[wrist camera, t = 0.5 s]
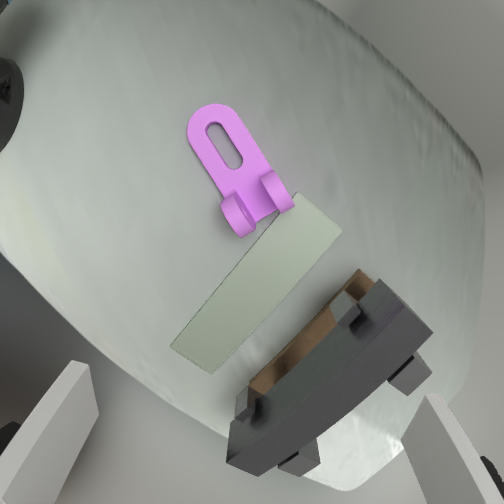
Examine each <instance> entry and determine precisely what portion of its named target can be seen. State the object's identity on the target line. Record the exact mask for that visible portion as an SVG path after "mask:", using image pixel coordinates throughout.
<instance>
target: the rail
mask: <svg viewBox="0 0 504 504" xmlns="http://www.w3.org/2000/svg"><path fill="white" fill-rule="evenodd" d="M356 305H357V306H358V308H359V309H360V311H361V313H360V314H359V315H358V316H357V317H356V318H355V319H354V320H353V321H352V322H351V323H350V324H349V325H348V326H347V327H346V329H344V328H343V327H341V326H340V325H339V324H337V325H336V326H335V327H334V328H333V329H332V330H331V331H330V332H329V333H328V334H327V335H326V336H325V337H324V338H323V339H322V340H321V341H320V342H319V343H318V344H317V345H316V346H315V347H314V348H313V349H312V350H311V351H310V352H309V353H308V354H307V355H306V356H305V357H304V358H303V359H302V360H301V361H300V362H299V363H298V364H296V365H295V366H294V367H293V368H292V369H291V370H290V371H289V372H288V373H287V374H286V375H285V376H284V377H283V378H281V379H280V380H279V381H278V382H277V383H276V384H275V385H274V386H273V387H271V388H270V389H269V390H268V391H267V392H266V393H265V394H264V395H262V396H261V397H260V398H259V399H258V400H257V401H256V402H255V413H253V414H252V415H251V416H250V417H249V418H247V419H246V420H245V421H244V422H240V421H239V420H237V419H234V420H233V421H232V422H231V423H230V431H229V440H228V449H227V458H226V463H228V464H230V465H232V466H234V467H237V468H239V469H241V470H243V471H245V472H248V473H250V474H253V475H255V476H257V477H258V476H260V475H261V474H263V473H265V472H266V471H268V470H269V469H271V468H273V467H274V466H276V465H277V464H279V463H281V462H282V461H284V460H285V459H287V458H288V457H290V456H291V455H293V454H294V453H295V452H297V451H298V450H300V449H301V448H303V447H304V446H306V445H307V444H308V443H310V442H311V441H312V440H314V439H315V438H317V437H318V436H319V435H321V434H322V433H323V432H325V431H326V430H327V429H329V428H330V427H331V426H332V425H334V424H335V423H336V422H338V421H339V420H340V419H341V418H343V417H344V416H345V415H346V414H348V413H349V412H350V411H351V410H352V409H354V408H355V407H356V406H357V405H358V404H360V403H361V402H362V401H363V400H364V399H365V398H367V397H368V396H369V395H370V394H371V393H372V392H373V391H375V390H376V389H377V388H378V387H379V386H380V385H381V384H382V383H383V382H385V381H386V380H387V379H388V378H389V377H390V376H391V375H392V374H393V373H394V372H395V371H396V370H397V369H398V368H399V367H400V366H401V365H402V364H403V363H404V362H406V361H407V360H408V359H409V358H410V357H411V356H412V355H413V353H414V352H415V351H416V350H417V349H418V348H419V347H420V346H421V345H422V344H423V343H424V342H425V341H426V340H427V339H428V338H429V337H430V336H431V335H432V333H433V332H432V331H431V330H430V329H429V327H428V326H427V325H426V324H425V323H424V322H423V321H422V320H421V319H420V318H419V317H418V315H417V314H416V313H415V312H414V311H413V310H412V309H411V308H410V307H409V306H408V305H407V304H406V303H405V302H404V301H403V300H402V299H401V298H400V297H399V296H398V295H397V294H396V293H395V292H394V291H393V290H392V289H390V288H389V287H388V286H387V285H386V284H385V283H384V282H383V281H382V280H381V279H380V278H379V280H378V281H377V282H376V283H375V284H374V285H373V286H372V287H371V289H370V290H369V291H368V292H367V293H366V294H365V295H364V296H363V297H362V299H361V300H360V301H359V302H358V303H357V304H356Z"/></svg>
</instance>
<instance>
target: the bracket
mask: <svg viewBox="0 0 504 504" xmlns="http://www.w3.org/2000/svg"><path fill="white" fill-rule="evenodd" d="M213 123H220V124H222V126H223V127H224V129H225V130H226V132H227V134H228V135H229V137H230V138H231V140H232V141H233V143H234V144H235V146H236V148H237V149H238V151H239V152H240V154H241V155H242V157H243V164H242V166H241V167H240V168H238V169H235V170H234V169H231V168H229V167H228V166H227V164H226V163H225V161H224V160H223V158H222V156H221V155H220V153H219V152H218V150H217V149H216V147H215V146H214V144H213V142H212V141H211V139H210V138H209V136H208V134H207V130H208V127H209V126H210V125H211V124H213ZM187 135H188V139H189V142H190V144H191V146H192V147H193V149H194V150H195V152H196V154H197V155H198V157H199V158H200V160H201V161H202V163H203V165H204V166H205V168H206V169H207V171H208V172H209V174H210V176H211V177H212V179H213V180H214V182H215V183H216V185H217V187H218V188H219V190H220V191H221V193H222V195H223V196H224V200H223V201H222V202H221V203H220V206H221V209H222V211H223V213H224V215H225V217H226V219H227V221H228V222H229V224H230V225H231V227H232V228H233V230H234V231H235V232H236V233H237V235H238V236H239V237H241V238H242V237H244V236H246V235H247V234H249V233H251V232H252V231H254V230H255V228H256V222H257V221H259V220H260V219H262V218H264V217H265V216H267V215H269V214H270V213H272V212H274V211H275V210H277V209H279V211H280V212H281V214H283V213H284V212H286V211H288V210H289V209H291V208H293V207H295V204H294V203H293V201H292V199H291V197H290V196H289V194H288V192H287V191H286V189H285V187H284V186H283V184H282V182H281V181H280V179H279V178H278V176H277V174H276V173H275V171H274V170H272V168H271V167H270V165H269V164H268V162H267V160H266V159H265V157H264V155H263V154H262V152H261V151H260V149H259V148H258V146H257V144H256V143H255V141H254V140H253V138H252V136H251V135H250V133H249V132H248V130H247V129H246V127H245V126H244V124H243V122H242V121H241V119H240V118H239V116H238V115H237V114H236V112H235V111H234V110H232V109H231V108H229V107H228V106H225V105H222V104H209V105H206V106H204V107H202V108H200V109H199V110H197V111H196V112H195V113H194V114H193V116H192V117H191V119H190V121H189V123H188V128H187Z"/></svg>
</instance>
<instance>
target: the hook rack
mask: <svg viewBox="0 0 504 504" xmlns="http://www.w3.org/2000/svg"><path fill="white" fill-rule="evenodd" d="M374 284H375V283H374V282H373V281H372V280H371V279H370V278H369V277H368V276H367V275H365V274H364V273H363V272H362V271H361V270H360V269H358V270H357V271H356V272H355V274H354V275H353V276H352V277H351V278H350V279H349V280H348V281H347V282H346V284H345V285H344V286H343V287H342V288H341V289H340V290H339V291H338V292H337V294H336V295H335V296H334V297H333V298H332V299H331V300H330V301H329V302H328V303H327V304H326V305H325V306H324V308H323V309H322V310H321V311H320V312H319V313H318V314H317V315H316V316H315V317H314V318H313V319H312V320H311V321H310V322H309V323H308V324H307V325H306V326H305V327H304V328H303V329H302V331H301V332H300V333H299V334H298V335H297V336H296V337H295V338H294V339H293V340H292V341H291V342H290V343H289V344H288V345H287V346H286V347H285V348H284V349H283V350H282V351H281V352H280V353H279V354H278V355H277V356H276V357H275V358H273V359H272V360H271V361H270V362H269V363H268V364H267V365H266V366H265V367H264V368H263V369H262V370H261V371H260V372H259V373H258V374H257V375H256V376H255V377H254V378H253V379H252V380H250V381H249V386H247V387H246V388H245V389H244V390H243V391H242V392H241V393H240V394H238V395H237V397H236V406H235V416H234V418H235V419H237V420H239V421H240V422H244V421H245V420H246V419H247V418H249V417H250V416H251V415H252V414H253V413H255V402H256V401H257V400H258V399H259V398H260V397H261V396H262V395H264V394H265V393H266V392H267V391H268V390H269V389H270V388H271V387H273V386H274V385H275V384H276V383H277V382H278V381H279V380H280V379H281V378H283V377H284V376H285V375H286V374H287V373H288V372H289V371H290V370H291V369H292V368H293V367H294V366H295V365H296V364H298V363H299V362H300V361H301V360H302V359H303V358H304V357H305V356H306V355H307V354H308V353H309V352H310V351H311V350H312V349H313V348H314V347H315V346H316V345H317V344H318V343H319V342H320V341H321V340H322V339H323V338H324V337H325V336H326V335H327V334H328V333H329V332H330V331H331V330H332V329H333V328H334V327H335V326H336V325H337V324H339V325H340V326H341V327H343V328H344V329H346V327H347V326H348V325H349V324H350V323H351V322H352V321H353V320H354V319H355V318H356V317H357V316H358V315H359V314H360V313H361V311H360V309H359V308H358V306H357V305H356V304H357V303H358V302H359V301H360V300H361V299H362V297H363V296H364V295H365V294H366V293H367V292H368V291H369V290H370V289H371V287H372V286H373V285H374ZM431 374H432V371H431V370H430V369H429V367H428V366H427V365H426V363H425V362H424V360H423V359H422V358H421V356H420V355H419V354H418V352H417V351H415V352H414V353H413V355H412V356H411V357H410V358H409V359H408V360H407V361H406V362H404V363H403V364H402V365H401V366H400V367H399V368H398V369H397V370H396V371H395V372H394V373H393V374H392V375H391V376H390V377H389V378H388V379H387V381H388V382H389V384H391V385H392V386H394V387H395V388H397V389H398V390H399V391H401V392H402V393H404V394H405V395H407V396H409V395H410V394H411V393H412V392H413V391H414V390H415V389H416V388H417V387H418V386H419V385H420V384H421V383H423V382H424V381H425V380H426V379H427V378H428V377H429V376H430V375H431ZM319 464H321V463H320V457H319V451H318V445H317V439H316V438H315V439H314V440H312V441H311V442H310V443H308V444H307V445H306V446H304V447H303V448H301V449H300V450H298V451H297V452H295V453H294V454H293V455H291V456H290V457H288V458H287V459H285V460H284V461H282V462H281V463H279V464H278V469H281V470H283V471H286V472H288V473H291V474H293V475H296V476H298V477H300V476H302V475H304V474H305V473H307V472H308V471H310V470H312V469H313V468H315V467H316V466H318V465H319Z"/></svg>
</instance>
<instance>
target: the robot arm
mask: <svg viewBox="0 0 504 504" xmlns="http://www.w3.org/2000/svg"><path fill="white" fill-rule="evenodd" d="M11 1H12V0H0V14H1V13H2V12H3V10H4V9H5V8H6V6H7V5H9V4H10V3H11ZM23 91H24V88H23V78H22V74H21V71H20V69H19V67H18V66H17V65H16V63H14V62H13V61H11V60H8V59H5V58H2V57H0V151H1V150H2V149H3V148H4V146H5V145H6V144H7V142H8V141H9V139H10V137H11V136H12V134H13V132H14V129H15V127H16V125H17V122H18V119H19V116H20V112H21V108H22V102H23ZM98 416H99V412H98V408H97V404H96V399H95V395H94V390H93V385H92V380H91V375H90V369H89V364H85V363H81V362H78V361H74V360H72V361H71V362H70V363H69V364H68V365H67V367H66V368H65V369H64V370H63V372H62V373H61V374H60V375H59V377H58V378H57V379H56V381H55V382H54V383H53V384H52V386H51V387H50V388H49V390H48V391H47V392H46V394H45V395H44V396H43V398H42V399H41V400H40V402H39V403H38V404H37V406H36V407H35V408H34V410H33V411H32V412H31V414H30V415H29V417H28V418H27V419H26V421H25V422H24V423H23V425H20V424H18V423H16V422H14V421H12V422H10V423H9V424H7V425H5V426H4V427H2V428H1V429H0V504H54V503H55V501H56V499H57V496H58V494H59V492H60V490H61V488H62V486H63V484H64V482H65V480H66V478H67V476H68V474H69V472H70V470H71V468H72V466H73V464H74V462H75V460H76V458H77V456H78V454H79V452H80V450H81V448H82V446H83V444H84V442H85V440H86V438H87V437H88V435H89V433H90V431H91V429H92V427H93V425H94V423H95V421H96V420H97V417H98ZM401 442H402V444H403V446H404V449H405V451H406V453H407V456H408V458H409V460H410V463H411V465H412V467H413V470H414V472H415V475H416V477H417V479H418V482H419V484H420V487H421V489H422V492H423V494H424V496H425V499H426V502H427V504H504V482H502V479H501V477H500V475H498V472H497V470H496V469H495V467H494V465H493V464H492V463H491V462H490V461H489V460H488V459H487V458H486V457H485V456H481V457H479V456H478V454H477V452H476V451H475V449H474V448H473V446H472V444H471V442H470V441H469V439H468V437H467V436H466V434H465V433H464V431H463V430H462V428H461V426H460V425H459V423H458V422H457V420H456V419H455V417H454V415H453V414H452V412H451V411H450V409H449V408H448V406H447V405H446V403H445V402H444V400H443V399H442V397H441V396H440V394H432V395H425V396H424V398H423V400H422V402H421V404H420V406H419V408H418V410H417V412H416V414H415V415H414V417H413V419H412V421H411V423H410V424H409V426H408V428H407V430H406V431H405V433H404V435H403V437H402V438H401Z"/></svg>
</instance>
